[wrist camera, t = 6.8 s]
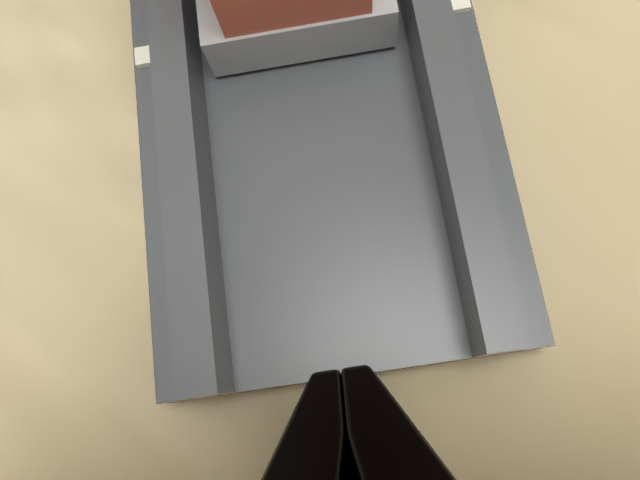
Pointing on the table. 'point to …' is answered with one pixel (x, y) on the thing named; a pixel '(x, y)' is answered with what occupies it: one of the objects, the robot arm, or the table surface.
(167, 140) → the track housing
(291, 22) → the tall terracotta column
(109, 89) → the table surface
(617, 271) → the table surface
